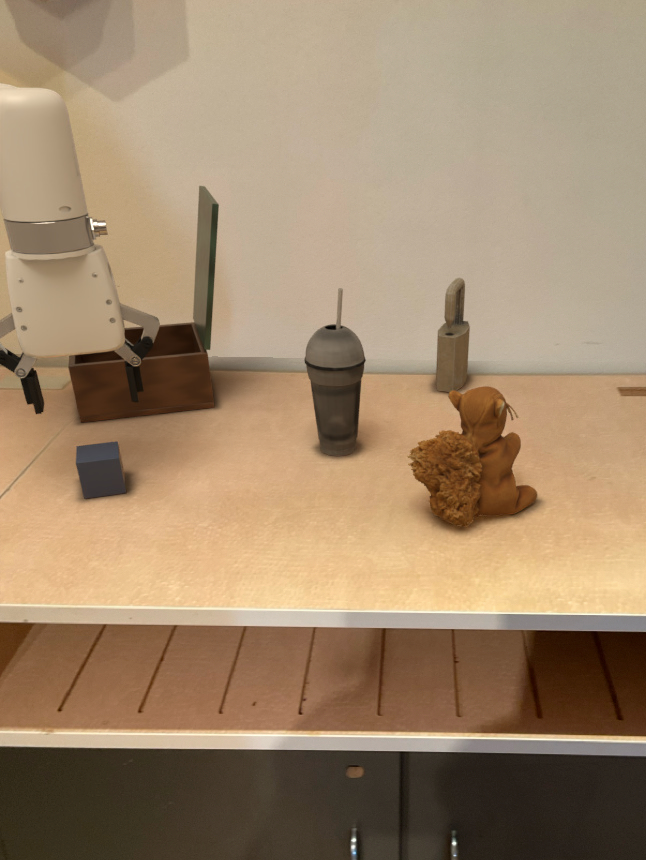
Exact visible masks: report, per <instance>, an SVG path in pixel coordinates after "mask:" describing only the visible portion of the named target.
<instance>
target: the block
mask: <svg viewBox="0 0 646 860" xmlns="http://www.w3.org/2000/svg"><path fill="white" fill-rule="evenodd" d="M75 467H76V470H77V474H78V479H79V483H80V487H81V488H80V489H81V491H82V495H83V499H85V500H87V499H94V498H101V497H102V498H103V497H108V496H117V495H122V494H127V485H126V484H127V483H126V473H125V468H124V464H123V460H122V455H121V449H120V444H119V441H118V440H116V441H115V440H114V441H108V442H100V443H92V444H83V445H76V447H75Z"/></svg>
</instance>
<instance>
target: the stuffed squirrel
mask: <svg viewBox="0 0 646 860" xmlns="http://www.w3.org/2000/svg"><path fill="white" fill-rule="evenodd" d="M447 397H448V399H449V402H450V403H451V404H452V405H453V407H454V409H455V410H456V411H457V412H458V413H459V419H460V429H461V430H462V431H461V432H460V433H459V431H453V430H451V429H450V430H449V429H448V430H443V429H442V430H439V432H438V434H436V435H435V436H434V437H433V438H429V439H426V440H425V439H423V440H421V441H418V442H417V445H418V446H417V447H413V448H411V449H410V450H409V455H407V456H406V457H407V458H408V459H410V460H411V461H412V462H409V463H407V465H408V466H409V467H411V471H412V476H413V477H414V479H415V480H416V481H417V482H419V483H420V484H423V486H424V487H425V488H426V489H427V491H428V492H429V494H430V495H429V500H428V503H429V508H430V510H431V512H432V514H433V515H434V516H437V517H438V518H441V520H444V522H445V521H446V522H448V523H450V524H452V525H454V526H458V527H459V526H460V527H463V528H466V527H469V526H470V525H471V523H473V521H475V518H478V517H481V516H485V517H495V516H505V515H514V514H516V513H519V512H520V511H522V510H524V509H525V508H527V507H529V506H530V505H532V504H533V502H535V501H536V500H537V498H538V491H537V490H536V489H535V488H534V487H532V486H531V485H527V484H520V485H517V481H516V477H515V473H514V471H513V467H514V463H515V460H516V459H517V457H518V455H519V454H520V450H521V446H522V442H521V441H522V440H521V437H520V435H519V433H516V432H514V431H512V432H509V433H507V434H506V435H505V436H503V435H502V434H503V432H504V430H505V427H506V423H507V419H508V418H507V417H508V414H509V415H510V420H511V421H514V420H515V418H514V416H515V417H516V419H519V415H518V413H517V412H516V410H515V409H514V408H513V406H511V405H510V404H509V403H508V402H507V401H506V398H505V396H504V395H503V394H502V393H501V391H500V390H498V389H497V388H495V387H492V386H486V385H485V386H484V385H483V386H477V387H475V388H471V389H468V390H466V391H465V392H464V393H461V392H459V391H458V390H456V391H455V390H453V391H451V392H448V395H447ZM512 412H513V413H512ZM513 414H514V416H513Z"/></svg>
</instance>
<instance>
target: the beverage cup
mask: <svg viewBox="0 0 646 860" xmlns="http://www.w3.org/2000/svg"><path fill="white" fill-rule="evenodd" d="M343 293H344V289H343V288H338V289H337V302H336V303H337V304H336V305H337V307H336V322H335V323H333V324H331V323H330V324H327V325H323V326H322V327H319V329H317V330H316V331H315V332H314V333H313V334H312V335H311V337H310V338H309V340H308V342H307V344H306V348H305V356H304V360H303V361H304V364H305V366H306V367H305V368H306V372H307V376H308V379H309V382H310V388H311V389H310V390H311V395H312V403H313V409H314V417H315V423H316V429H317V430H316V431H317V438H318V441H319V448H320V451H321V452H322V453H323V454H325V455H326V456H332V457H343V456H348V455H350V454H353V453H354V452H356V449H357V441H358V435H359V423H360V422H359V421H360V405H361V392H362V379H363V377H364V371H365V363H366V361H367V360H366V357H365V351H364V347H363V344H362V342H361V340H360V338H359V336H358V335H357V334H356V333H355V332H354V331H353V330H352V329H351V328H349V327H347V326H345V325H341V324H342V311H343Z"/></svg>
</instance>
